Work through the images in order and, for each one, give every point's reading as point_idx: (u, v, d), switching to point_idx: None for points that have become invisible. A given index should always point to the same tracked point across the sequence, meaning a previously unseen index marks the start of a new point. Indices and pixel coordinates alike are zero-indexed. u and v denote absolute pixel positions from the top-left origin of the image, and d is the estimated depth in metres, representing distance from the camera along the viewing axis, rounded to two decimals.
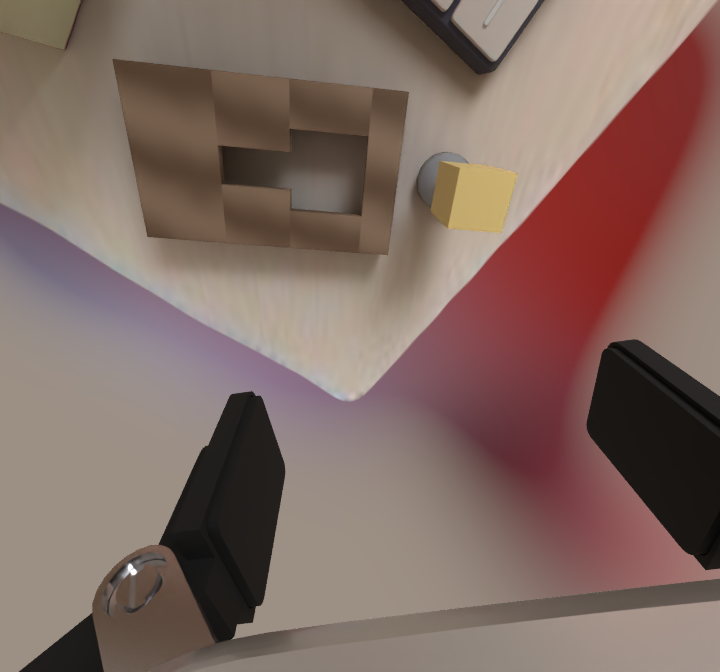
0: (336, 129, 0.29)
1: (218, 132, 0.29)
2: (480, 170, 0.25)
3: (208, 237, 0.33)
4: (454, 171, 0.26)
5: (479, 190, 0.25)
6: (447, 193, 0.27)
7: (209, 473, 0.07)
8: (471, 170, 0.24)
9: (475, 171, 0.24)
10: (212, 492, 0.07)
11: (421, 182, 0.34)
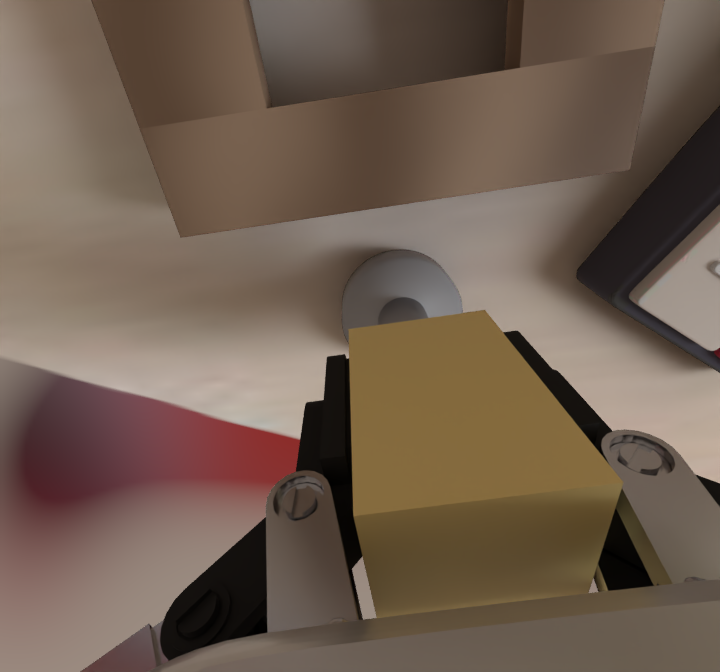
0: None
1: None
2: (597, 535, 0.06)
3: None
4: (557, 425, 0.06)
5: (524, 558, 0.06)
6: (459, 414, 0.07)
7: (335, 415, 0.08)
8: (607, 517, 0.06)
9: (602, 529, 0.06)
10: (345, 429, 0.08)
11: (392, 264, 0.14)
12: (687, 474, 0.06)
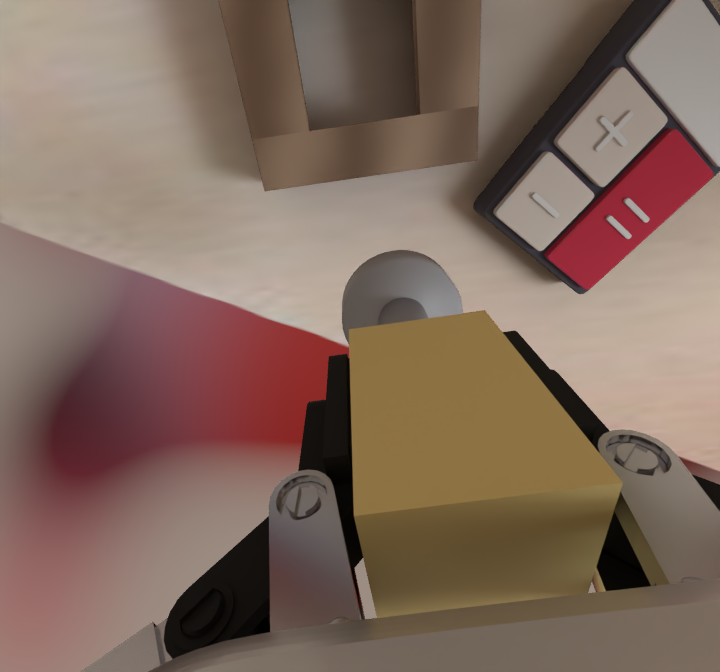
0: (422, 55, 0.19)
1: None
2: (597, 535, 0.06)
3: None
4: (557, 426, 0.06)
5: (525, 558, 0.06)
6: (459, 415, 0.07)
7: (337, 415, 0.08)
8: (606, 518, 0.06)
9: (602, 529, 0.06)
10: (347, 428, 0.08)
11: (392, 265, 0.14)
12: (683, 474, 0.06)
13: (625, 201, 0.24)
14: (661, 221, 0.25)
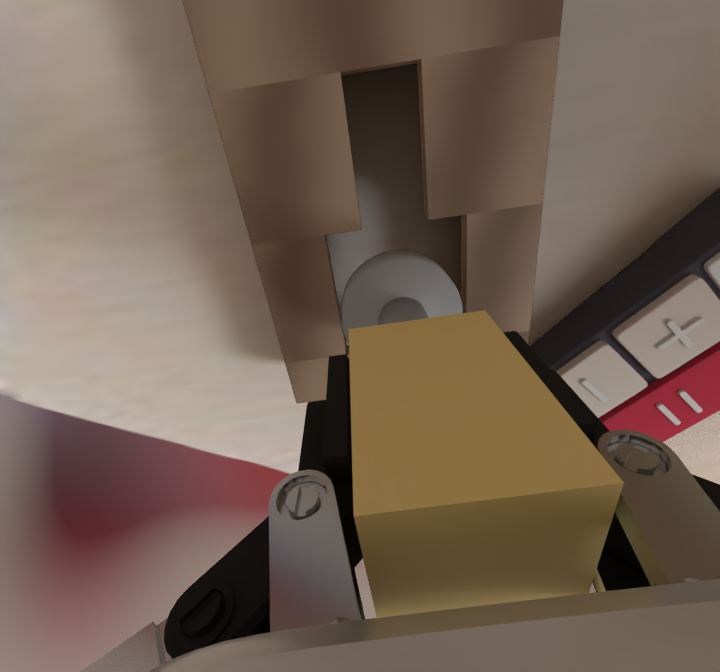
0: (471, 291, 0.18)
1: (446, 59, 0.13)
2: (597, 535, 0.06)
3: (203, 40, 0.13)
4: (557, 425, 0.06)
5: (524, 558, 0.06)
6: (460, 415, 0.07)
7: (337, 415, 0.08)
8: (607, 518, 0.06)
9: (602, 529, 0.06)
10: (347, 429, 0.08)
11: (392, 264, 0.14)
12: (683, 474, 0.06)
13: (680, 394, 0.22)
14: (714, 411, 0.23)
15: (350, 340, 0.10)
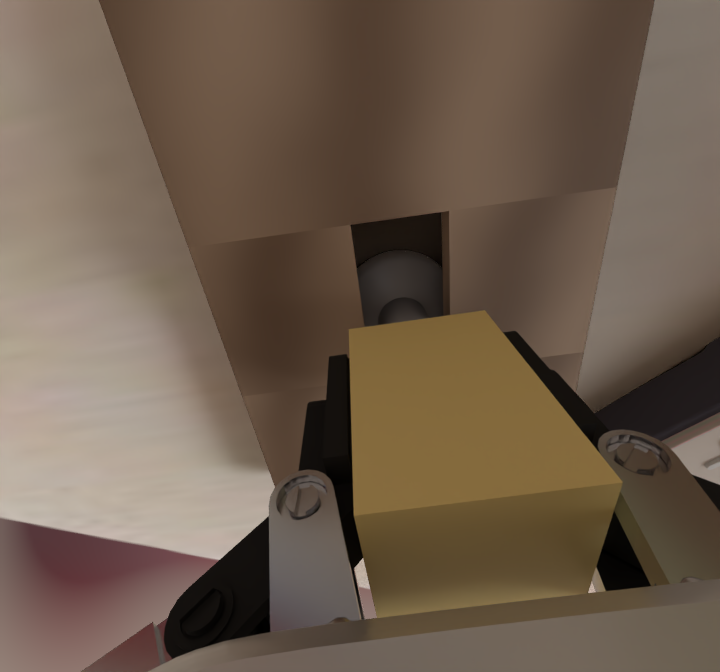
0: None
1: (479, 211, 0.11)
2: (597, 534, 0.06)
3: (181, 192, 0.10)
4: (557, 425, 0.06)
5: (524, 558, 0.06)
6: (459, 415, 0.07)
7: (337, 415, 0.08)
8: (606, 517, 0.06)
9: (601, 528, 0.06)
10: (347, 428, 0.08)
11: (392, 265, 0.14)
12: (683, 474, 0.06)
13: None
14: None
15: (350, 340, 0.10)
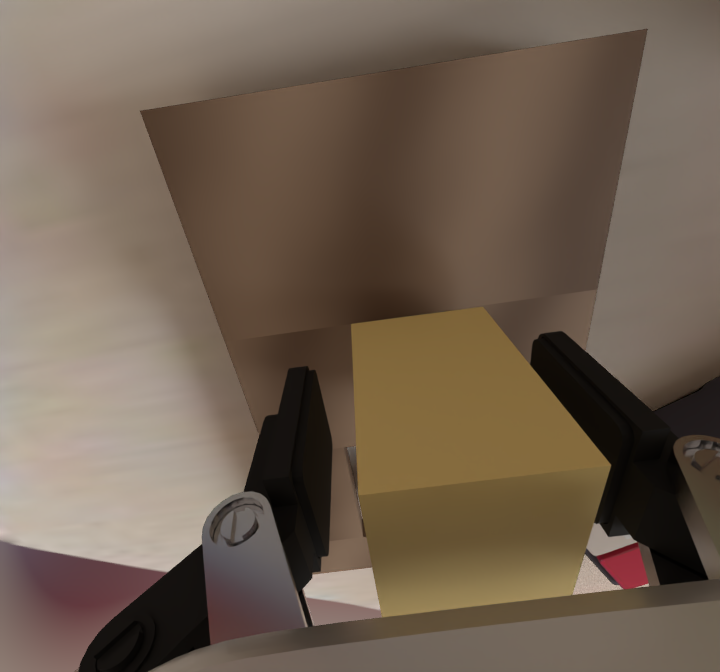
0: None
1: None
2: None
3: (220, 300, 0.12)
4: (550, 414, 0.07)
5: (518, 537, 0.07)
6: (458, 404, 0.07)
7: (286, 432, 0.08)
8: (595, 499, 0.06)
9: (591, 510, 0.06)
10: (293, 448, 0.07)
11: None
12: None
13: None
14: None
15: (352, 334, 0.10)
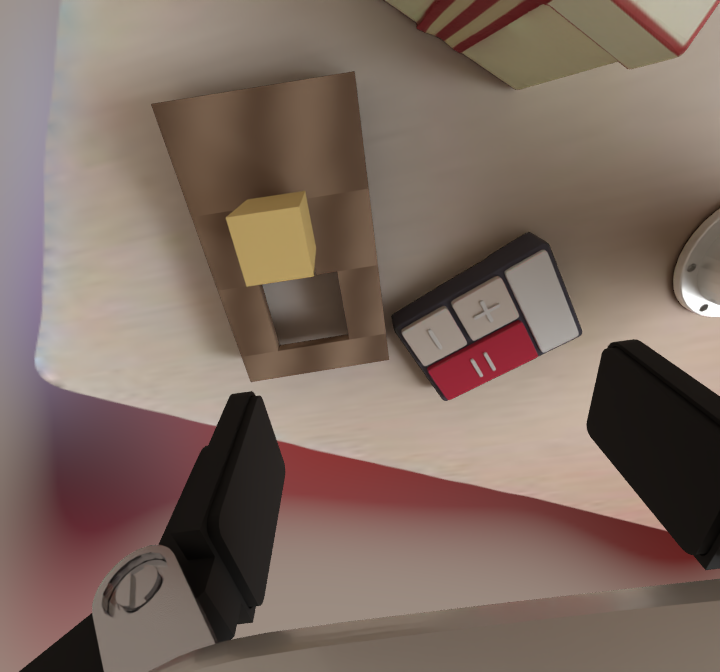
0: (347, 312, 0.31)
1: (313, 199, 0.27)
2: (304, 233, 0.20)
3: (188, 193, 0.26)
4: (295, 203, 0.21)
5: (282, 240, 0.20)
6: (269, 205, 0.21)
7: (209, 473, 0.07)
8: (300, 221, 0.20)
9: (301, 227, 0.20)
10: (213, 492, 0.07)
11: None
12: None
13: (484, 354, 0.35)
14: (502, 372, 0.36)
15: (245, 201, 0.24)
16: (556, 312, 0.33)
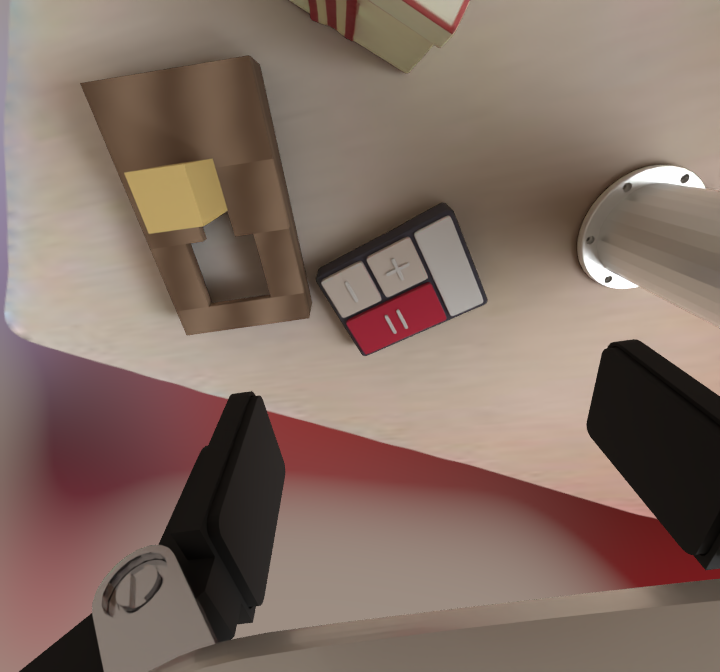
0: (266, 272, 0.35)
1: (225, 168, 0.31)
2: (191, 187, 0.25)
3: (117, 161, 0.30)
4: (186, 163, 0.25)
5: (173, 193, 0.25)
6: None
7: (209, 473, 0.07)
8: (186, 177, 0.24)
9: (188, 182, 0.24)
10: (213, 492, 0.07)
11: None
12: None
13: (396, 311, 0.38)
14: (414, 332, 0.40)
15: (160, 166, 0.29)
16: (461, 277, 0.37)
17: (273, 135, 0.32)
